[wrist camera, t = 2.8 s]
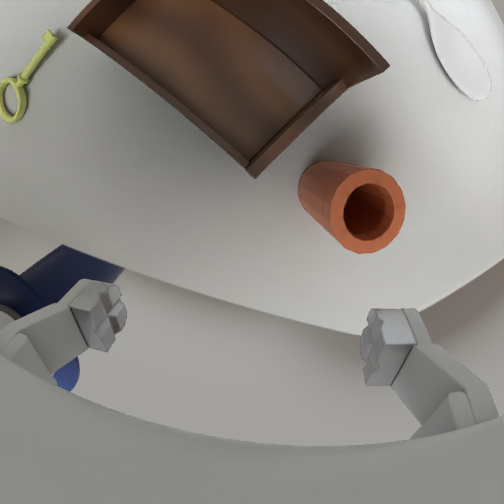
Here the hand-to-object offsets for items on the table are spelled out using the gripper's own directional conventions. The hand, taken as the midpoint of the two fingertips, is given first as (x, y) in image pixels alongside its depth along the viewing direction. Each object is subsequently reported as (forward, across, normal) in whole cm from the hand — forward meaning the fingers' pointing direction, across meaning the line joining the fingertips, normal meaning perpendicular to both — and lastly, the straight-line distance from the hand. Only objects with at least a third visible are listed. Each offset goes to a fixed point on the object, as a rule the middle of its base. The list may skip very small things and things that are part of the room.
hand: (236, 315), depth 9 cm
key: (+17, -29, +14) cm, 37 cm away
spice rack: (+21, -7, +10) cm, 24 cm away
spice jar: (+21, +5, -2) cm, 22 cm away
